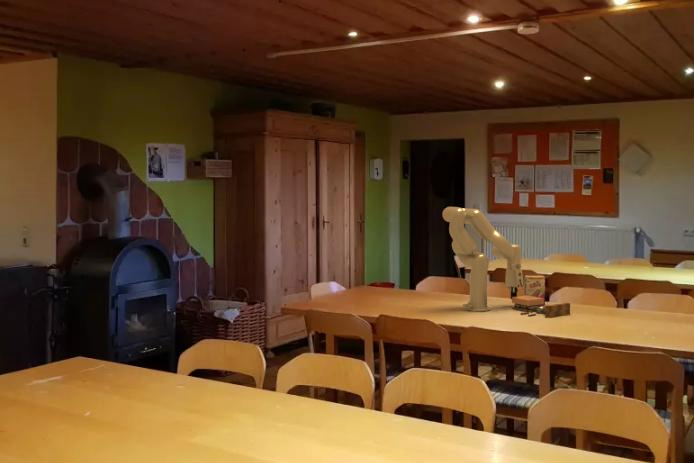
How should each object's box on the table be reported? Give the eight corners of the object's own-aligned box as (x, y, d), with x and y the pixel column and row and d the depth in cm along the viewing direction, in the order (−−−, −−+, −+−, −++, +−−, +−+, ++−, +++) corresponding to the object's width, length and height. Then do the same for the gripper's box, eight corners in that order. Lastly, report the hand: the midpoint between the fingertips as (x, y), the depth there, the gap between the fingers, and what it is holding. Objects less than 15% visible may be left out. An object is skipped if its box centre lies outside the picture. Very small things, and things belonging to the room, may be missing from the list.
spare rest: (528, 316, 373) (528, 315, 373) (520, 314, 378) (520, 313, 378) (536, 315, 375) (536, 314, 375) (527, 313, 381) (527, 312, 381)
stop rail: (547, 317, 369) (547, 306, 368) (545, 317, 370) (545, 305, 370) (570, 314, 376) (570, 303, 376) (567, 313, 378) (567, 302, 378)
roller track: (545, 315, 374) (545, 309, 374) (512, 308, 396) (512, 302, 396) (558, 313, 379) (558, 307, 379) (524, 306, 401) (524, 300, 401)
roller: (540, 313, 379) (539, 307, 379) (535, 313, 382) (535, 307, 382) (550, 312, 383) (549, 305, 383) (545, 312, 386) (544, 306, 386)
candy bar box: (525, 305, 405) (525, 276, 404) (524, 303, 410) (524, 275, 409) (545, 305, 404) (545, 276, 403) (543, 304, 409) (544, 275, 408)
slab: (528, 306, 384) (528, 300, 384) (511, 302, 395) (511, 297, 395) (543, 303, 389) (543, 298, 389) (526, 300, 401) (526, 295, 400)
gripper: (528, 267, 396) (528, 300, 397) (509, 264, 409) (509, 296, 410) (518, 268, 392) (518, 301, 393) (499, 265, 405) (499, 297, 406)
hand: (513, 299), depth 402 cm, fingers closed
